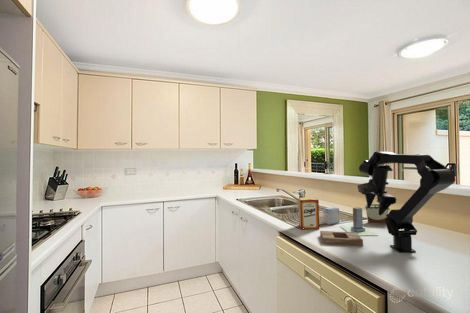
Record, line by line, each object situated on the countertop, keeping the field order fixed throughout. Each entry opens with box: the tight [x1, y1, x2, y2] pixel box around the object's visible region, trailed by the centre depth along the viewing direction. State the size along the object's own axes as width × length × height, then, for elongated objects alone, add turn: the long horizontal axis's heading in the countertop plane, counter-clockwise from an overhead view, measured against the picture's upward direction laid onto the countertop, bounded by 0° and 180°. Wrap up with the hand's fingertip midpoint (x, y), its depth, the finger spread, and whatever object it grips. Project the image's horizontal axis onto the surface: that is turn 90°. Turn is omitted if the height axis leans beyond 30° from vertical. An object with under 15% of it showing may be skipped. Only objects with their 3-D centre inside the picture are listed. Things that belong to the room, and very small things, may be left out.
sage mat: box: [340, 225, 379, 237], centre depth 118 cm, size 14×12×1 cm
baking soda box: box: [297, 197, 320, 230], centre depth 126 cm, size 10×6×16 cm
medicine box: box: [322, 206, 340, 225], centre depth 133 cm, size 8×4×9 cm, turn 111°
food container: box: [364, 203, 391, 225], centre depth 132 cm, size 12×6×10 cm, turn 74°
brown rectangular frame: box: [319, 230, 364, 247], centre depth 105 cm, size 10×16×2 cm, turn 77°
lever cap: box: [351, 207, 366, 232], centre depth 118 cm, size 5×4×12 cm
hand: (374, 210), depth 108 cm, fingers open, 9 cm apart
